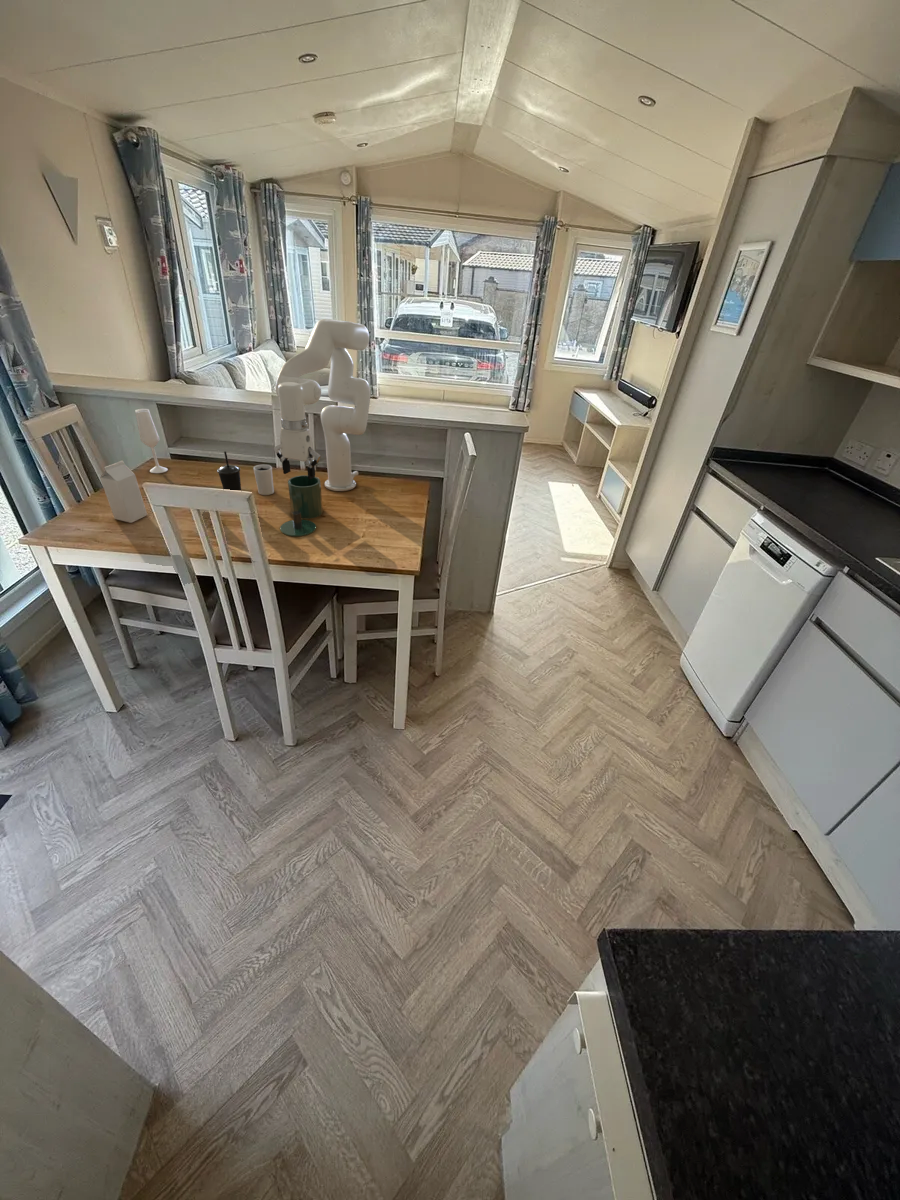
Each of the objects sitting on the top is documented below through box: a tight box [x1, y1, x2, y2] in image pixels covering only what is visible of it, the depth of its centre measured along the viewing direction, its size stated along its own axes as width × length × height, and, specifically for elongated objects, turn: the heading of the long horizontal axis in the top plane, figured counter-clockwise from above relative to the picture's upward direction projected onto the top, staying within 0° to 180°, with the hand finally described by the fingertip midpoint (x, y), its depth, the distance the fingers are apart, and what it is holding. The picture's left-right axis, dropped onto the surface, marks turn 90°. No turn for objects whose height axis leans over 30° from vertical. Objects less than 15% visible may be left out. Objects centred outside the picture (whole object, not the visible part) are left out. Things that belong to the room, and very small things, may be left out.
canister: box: [287, 474, 324, 520], centre depth 181 cm, size 11×11×12 cm
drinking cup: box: [216, 451, 242, 491], centre depth 181 cm, size 8×8×20 cm
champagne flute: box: [134, 408, 169, 474], centre depth 201 cm, size 7×7×24 cm
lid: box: [279, 511, 317, 538], centre depth 172 cm, size 12×12×7 cm
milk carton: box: [99, 460, 148, 524], centre depth 168 cm, size 7×7×19 cm
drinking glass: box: [252, 464, 275, 496], centre depth 195 cm, size 7×7×10 cm
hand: (299, 475), depth 171 cm, fingers open, 9 cm apart
